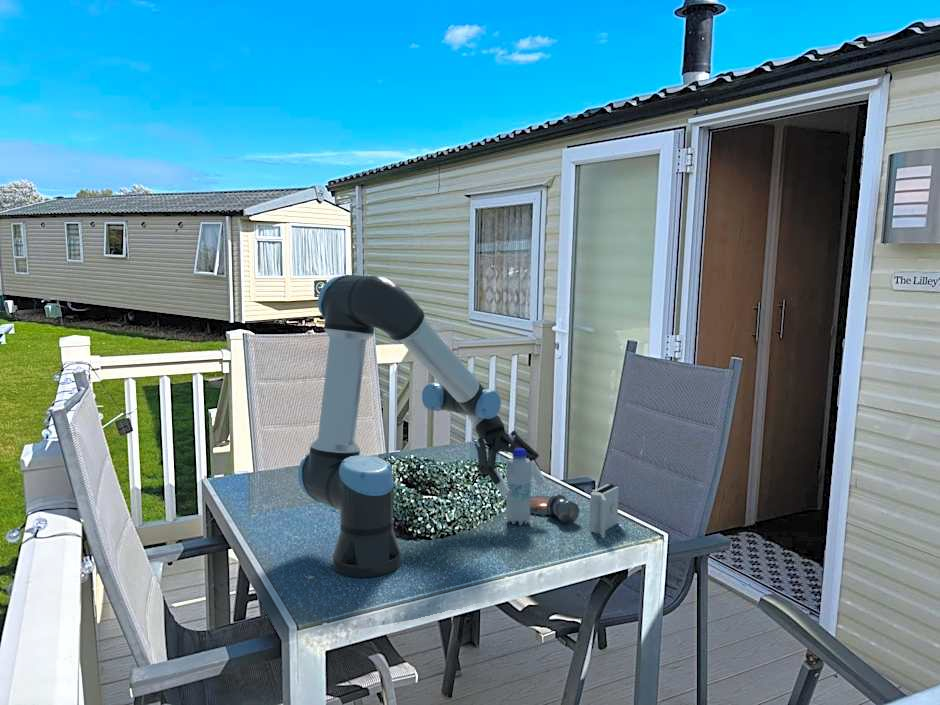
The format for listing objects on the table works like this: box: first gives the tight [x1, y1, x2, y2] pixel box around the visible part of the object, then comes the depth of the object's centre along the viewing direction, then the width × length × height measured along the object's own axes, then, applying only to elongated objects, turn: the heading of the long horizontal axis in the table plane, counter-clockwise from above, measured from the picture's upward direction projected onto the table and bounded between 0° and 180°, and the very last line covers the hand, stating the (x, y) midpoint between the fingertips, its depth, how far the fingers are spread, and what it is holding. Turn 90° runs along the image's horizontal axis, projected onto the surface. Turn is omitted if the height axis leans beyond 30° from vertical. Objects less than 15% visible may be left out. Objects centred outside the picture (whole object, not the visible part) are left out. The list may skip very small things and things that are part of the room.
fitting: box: [530, 493, 580, 525], centre depth 187 cm, size 21×14×6 cm
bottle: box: [505, 448, 532, 526], centre depth 178 cm, size 7×7×20 cm
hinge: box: [589, 483, 620, 539], centre depth 174 cm, size 14×5×10 cm, turn 153°
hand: (524, 488), depth 176 cm, fingers open, 13 cm apart
